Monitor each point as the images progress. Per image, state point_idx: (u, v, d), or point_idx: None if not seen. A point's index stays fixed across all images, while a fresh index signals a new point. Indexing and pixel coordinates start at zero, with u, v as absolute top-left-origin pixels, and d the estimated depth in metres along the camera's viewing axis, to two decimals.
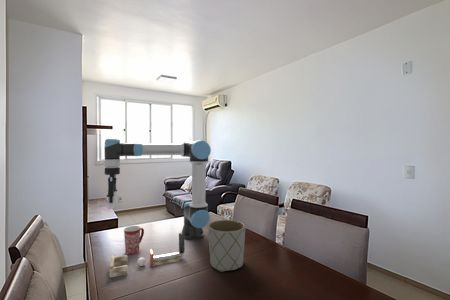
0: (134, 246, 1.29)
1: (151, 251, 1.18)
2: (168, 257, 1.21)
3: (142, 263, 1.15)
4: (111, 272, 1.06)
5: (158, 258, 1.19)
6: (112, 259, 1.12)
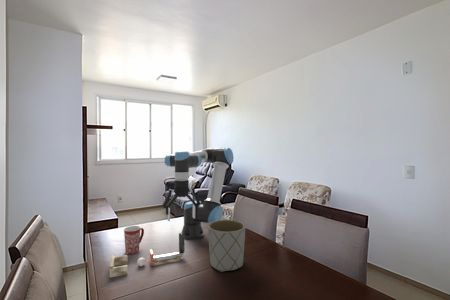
0: (134, 246, 1.29)
1: (151, 251, 1.18)
2: (168, 257, 1.21)
3: (142, 263, 1.15)
4: (111, 272, 1.06)
5: (158, 258, 1.19)
6: (112, 259, 1.12)
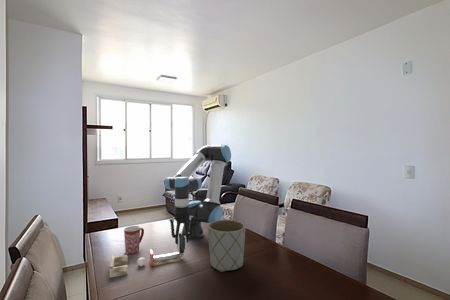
0: (134, 246, 1.29)
1: (151, 251, 1.18)
2: (168, 257, 1.21)
3: (142, 263, 1.15)
4: (111, 272, 1.06)
5: (158, 258, 1.19)
6: (112, 259, 1.12)
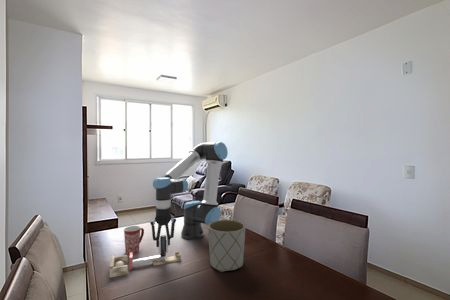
0: (134, 246, 1.29)
1: (130, 254, 1.15)
2: (148, 260, 1.17)
3: None
4: (111, 272, 1.06)
5: (138, 262, 1.15)
6: (112, 259, 1.12)
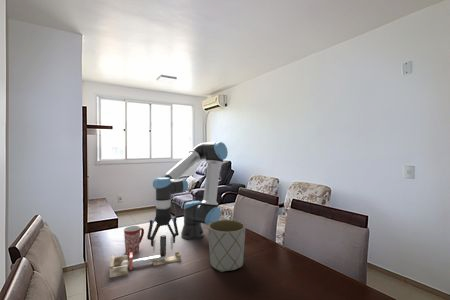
0: (134, 246, 1.29)
1: (130, 254, 1.15)
2: (148, 260, 1.17)
3: None
4: (111, 272, 1.06)
5: (138, 262, 1.15)
6: (112, 259, 1.12)
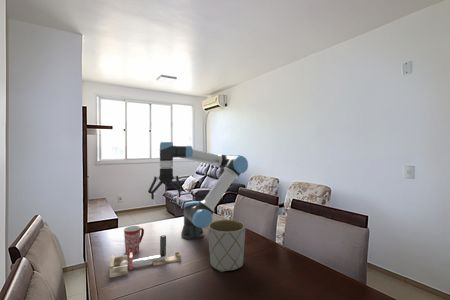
0: (134, 246, 1.29)
1: (130, 254, 1.15)
2: (148, 260, 1.17)
3: None
4: (111, 272, 1.06)
5: (138, 262, 1.15)
6: (112, 259, 1.12)
